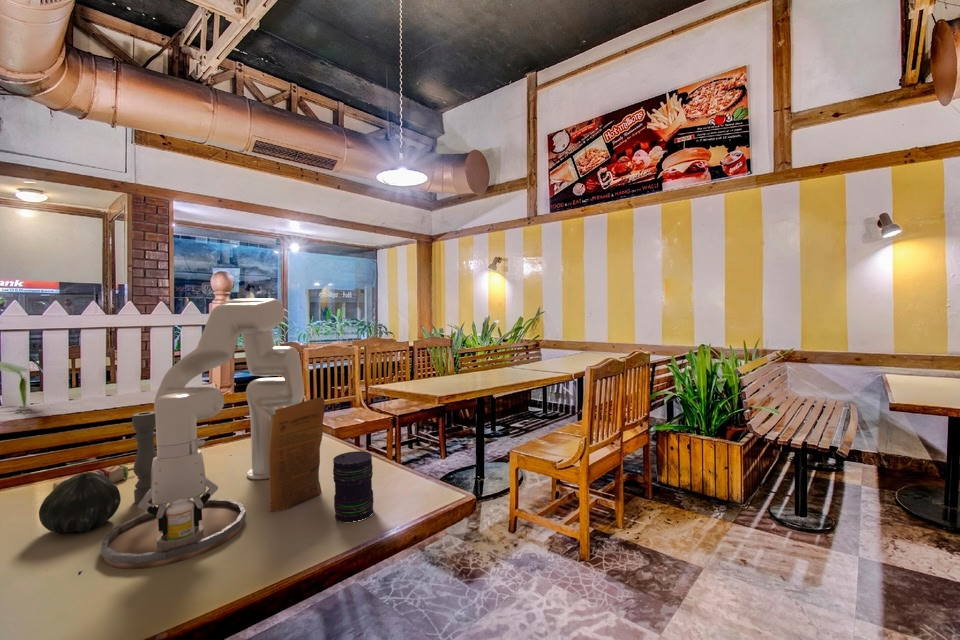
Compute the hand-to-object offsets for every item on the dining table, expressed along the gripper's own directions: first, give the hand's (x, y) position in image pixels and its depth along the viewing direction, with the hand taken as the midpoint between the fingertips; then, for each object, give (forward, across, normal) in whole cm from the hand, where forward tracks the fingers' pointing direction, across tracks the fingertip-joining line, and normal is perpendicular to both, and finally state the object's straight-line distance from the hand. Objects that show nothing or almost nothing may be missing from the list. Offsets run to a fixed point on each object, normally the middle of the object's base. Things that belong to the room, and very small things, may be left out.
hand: (180, 527), depth 99 cm
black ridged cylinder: (+5, -37, +9) cm, 38 cm away
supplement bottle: (+2, 0, 0) cm, 2 cm away
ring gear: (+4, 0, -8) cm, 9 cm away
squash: (+5, +19, -29) cm, 35 cm away
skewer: (+5, +18, -64) cm, 66 cm away
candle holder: (+5, +6, -39) cm, 40 cm away
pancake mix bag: (+5, -28, -9) cm, 30 cm away
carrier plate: (+5, 0, -8) cm, 9 cm away
